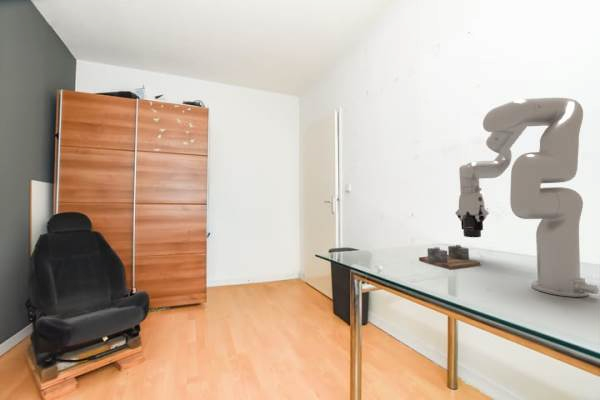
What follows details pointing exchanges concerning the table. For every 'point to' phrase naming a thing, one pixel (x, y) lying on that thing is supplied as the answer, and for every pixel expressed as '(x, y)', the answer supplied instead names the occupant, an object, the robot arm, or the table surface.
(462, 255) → the bottle cradle
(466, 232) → the supplement bottle
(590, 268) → the table surface
